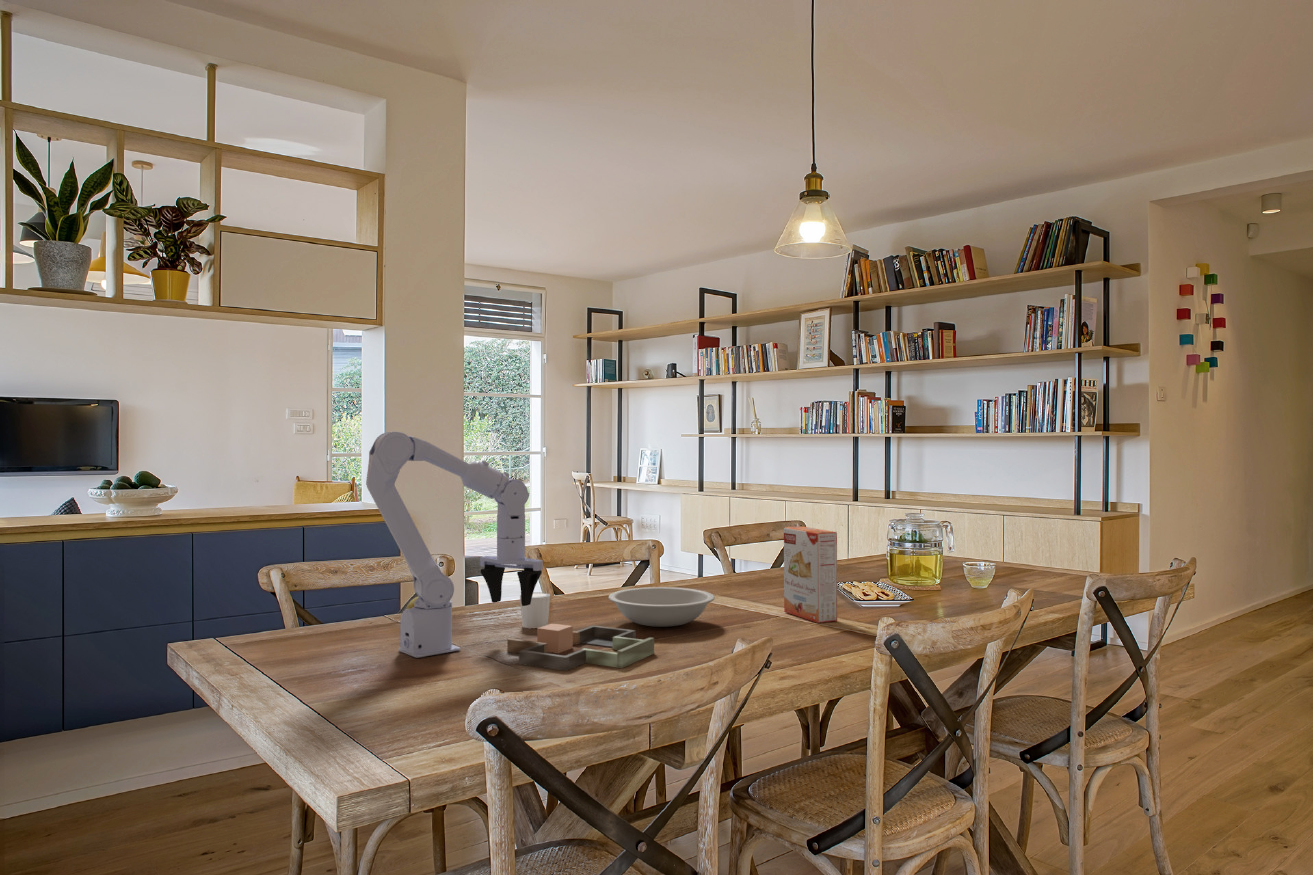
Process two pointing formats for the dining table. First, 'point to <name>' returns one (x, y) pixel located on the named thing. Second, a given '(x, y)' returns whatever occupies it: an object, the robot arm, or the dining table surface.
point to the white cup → (536, 611)
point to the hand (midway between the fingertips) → (511, 603)
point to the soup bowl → (661, 605)
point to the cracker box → (810, 573)
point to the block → (556, 637)
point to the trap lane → (592, 635)
